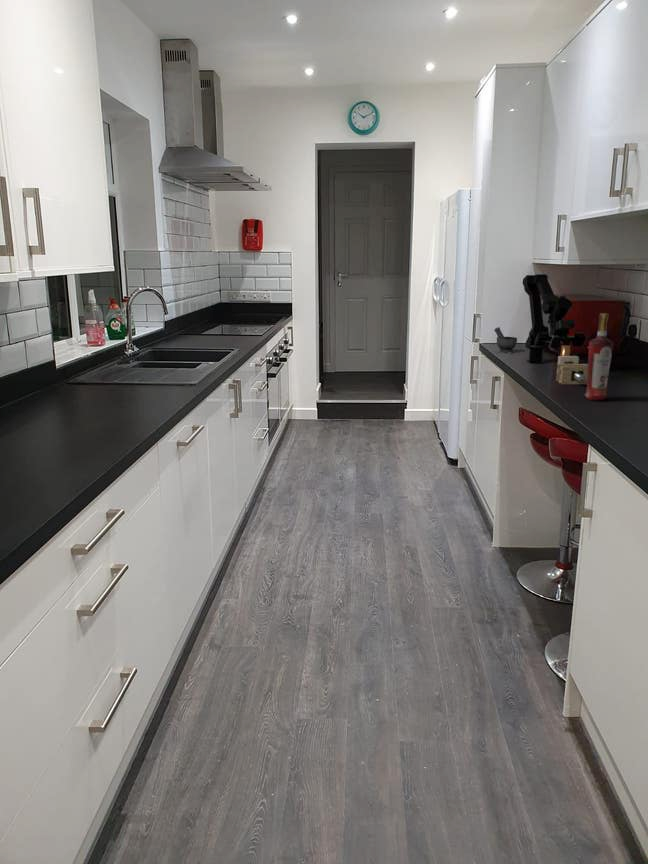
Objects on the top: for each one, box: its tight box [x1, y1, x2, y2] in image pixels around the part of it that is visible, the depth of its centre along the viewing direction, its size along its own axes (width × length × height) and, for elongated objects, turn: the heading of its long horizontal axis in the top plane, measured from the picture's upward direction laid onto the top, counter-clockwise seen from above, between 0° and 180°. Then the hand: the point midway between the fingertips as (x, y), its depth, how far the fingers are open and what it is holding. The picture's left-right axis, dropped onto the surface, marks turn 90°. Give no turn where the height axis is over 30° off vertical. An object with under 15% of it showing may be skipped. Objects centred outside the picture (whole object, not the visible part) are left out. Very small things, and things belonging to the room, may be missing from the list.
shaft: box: [559, 344, 585, 382], centre depth 251 cm, size 23×6×12 cm, turn 177°
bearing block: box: [555, 363, 588, 385], centre depth 248 cm, size 7×11×6 cm, turn 87°
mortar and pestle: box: [494, 326, 518, 354], centre depth 322 cm, size 11×9×12 cm
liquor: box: [584, 312, 614, 402], centre depth 217 cm, size 7×7×28 cm
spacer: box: [557, 355, 580, 378], centre depth 256 cm, size 3×7×8 cm, turn 88°
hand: (563, 356), depth 262 cm, fingers closed, pressing on shaft
